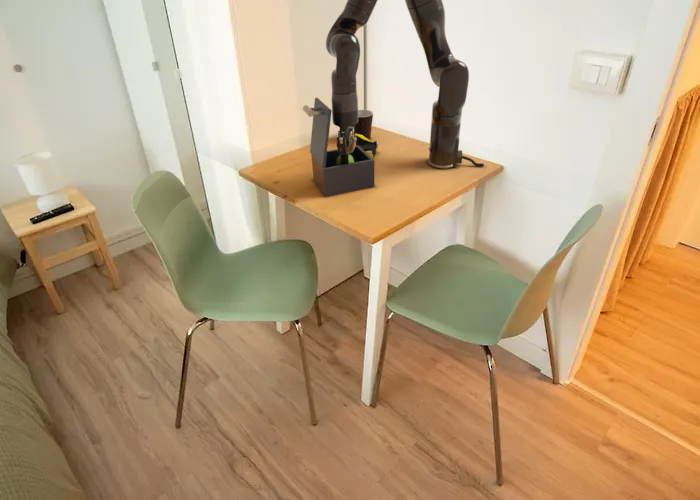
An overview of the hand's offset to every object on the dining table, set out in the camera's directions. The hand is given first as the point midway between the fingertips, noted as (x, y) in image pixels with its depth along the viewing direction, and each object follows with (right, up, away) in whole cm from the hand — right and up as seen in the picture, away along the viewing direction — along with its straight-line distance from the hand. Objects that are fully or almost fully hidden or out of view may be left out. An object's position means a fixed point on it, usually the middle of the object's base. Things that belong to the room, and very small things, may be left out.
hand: (347, 161), depth 142 cm
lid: (-7, +7, -8) cm, 13 cm away
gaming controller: (+5, +6, +21) cm, 22 cm away
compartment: (-1, -6, +3) cm, 7 cm away
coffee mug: (+5, +14, +33) cm, 36 cm away
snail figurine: (0, -3, +2) cm, 3 cm away
